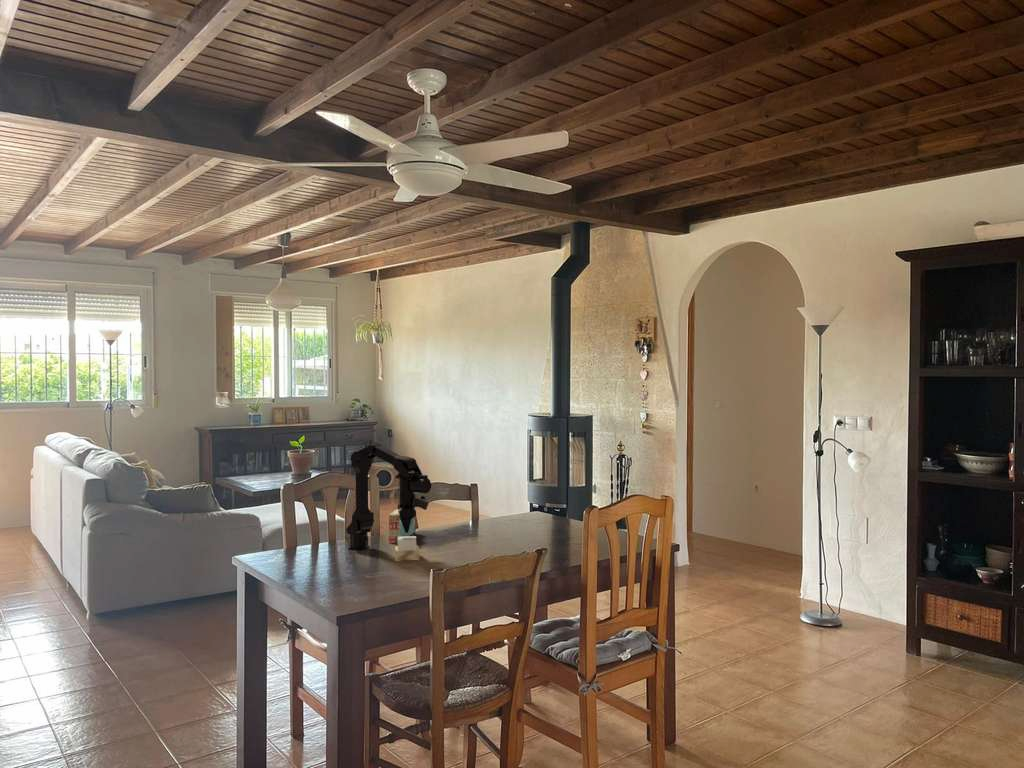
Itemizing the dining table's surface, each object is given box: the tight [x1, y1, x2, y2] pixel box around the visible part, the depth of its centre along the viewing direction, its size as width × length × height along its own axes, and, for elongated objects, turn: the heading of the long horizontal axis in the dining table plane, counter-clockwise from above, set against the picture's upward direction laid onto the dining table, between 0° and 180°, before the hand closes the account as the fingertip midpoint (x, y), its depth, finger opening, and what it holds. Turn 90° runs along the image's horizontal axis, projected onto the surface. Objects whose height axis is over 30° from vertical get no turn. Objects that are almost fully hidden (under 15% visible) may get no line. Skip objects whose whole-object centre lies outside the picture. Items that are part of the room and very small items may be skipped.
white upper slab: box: [397, 535, 417, 551], centre depth 302 cm, size 7×7×4 cm
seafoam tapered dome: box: [399, 520, 415, 536], centre depth 302 cm, size 6×6×5 cm
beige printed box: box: [388, 509, 416, 544], centre depth 338 cm, size 21×6×12 cm, turn 174°
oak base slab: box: [394, 545, 421, 562], centre depth 302 cm, size 9×9×4 cm
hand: (406, 531), depth 302 cm, fingers closed on seafoam tapered dome, 5 cm apart
